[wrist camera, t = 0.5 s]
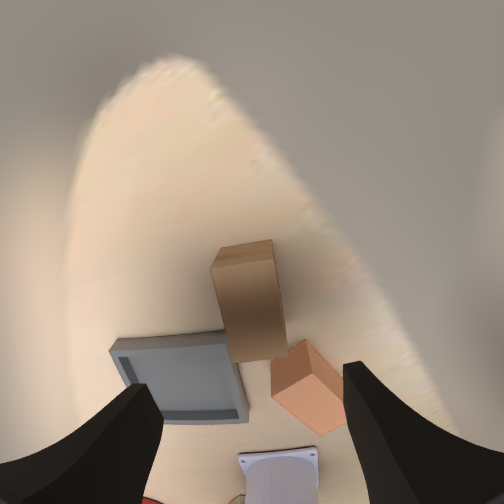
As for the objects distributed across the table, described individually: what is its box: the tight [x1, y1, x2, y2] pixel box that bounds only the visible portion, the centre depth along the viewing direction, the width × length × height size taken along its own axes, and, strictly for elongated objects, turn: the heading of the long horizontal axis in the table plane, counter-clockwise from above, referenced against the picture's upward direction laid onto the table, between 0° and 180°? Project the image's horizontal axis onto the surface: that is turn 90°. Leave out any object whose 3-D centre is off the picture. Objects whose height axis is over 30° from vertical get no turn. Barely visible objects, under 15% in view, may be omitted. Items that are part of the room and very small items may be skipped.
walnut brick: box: [210, 240, 288, 363], centre depth 18 cm, size 6×3×4 cm, turn 10°
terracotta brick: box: [271, 339, 347, 436], centre depth 19 cm, size 6×3×4 cm, turn 40°
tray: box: [109, 330, 249, 425], centre depth 21 cm, size 8×9×2 cm
